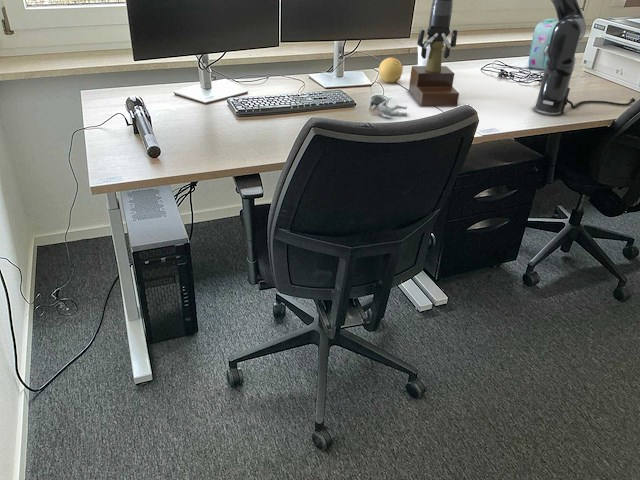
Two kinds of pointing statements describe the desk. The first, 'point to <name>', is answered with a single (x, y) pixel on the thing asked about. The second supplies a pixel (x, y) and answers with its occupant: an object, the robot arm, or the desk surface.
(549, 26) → the lunch box
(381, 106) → the soldier figure
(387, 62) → the stress ball
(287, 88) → the desk surface
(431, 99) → the step shelf
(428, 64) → the olive pawn
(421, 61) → the foam cup
